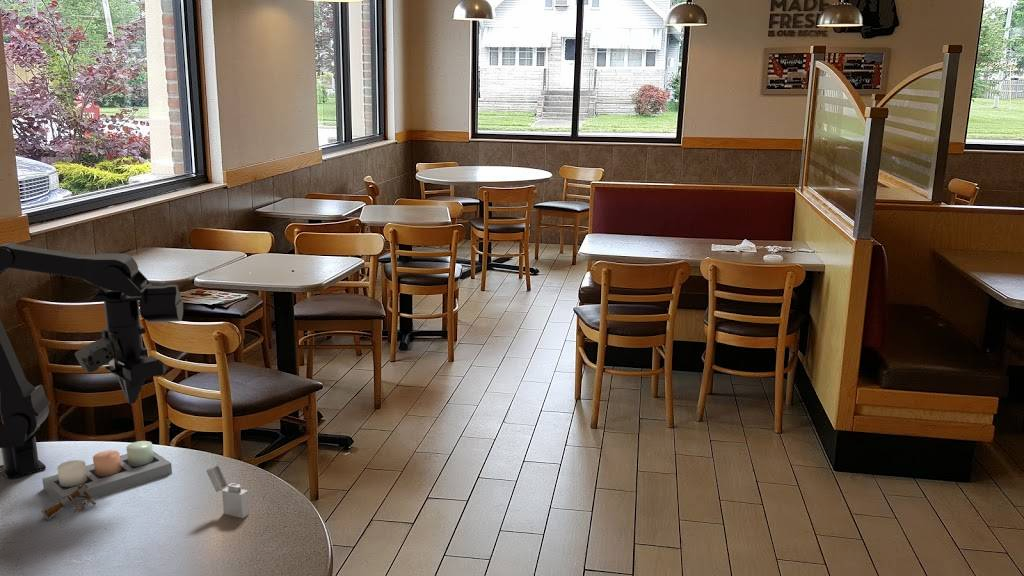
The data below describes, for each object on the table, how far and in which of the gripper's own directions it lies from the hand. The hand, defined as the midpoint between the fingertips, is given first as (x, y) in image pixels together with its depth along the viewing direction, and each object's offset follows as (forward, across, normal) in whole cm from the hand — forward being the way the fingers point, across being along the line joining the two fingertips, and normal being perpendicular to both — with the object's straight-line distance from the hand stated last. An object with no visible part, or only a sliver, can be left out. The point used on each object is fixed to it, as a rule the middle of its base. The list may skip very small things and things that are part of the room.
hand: (131, 403), depth 164 cm
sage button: (+10, +4, -1) cm, 11 cm away
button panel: (+12, +4, -7) cm, 15 cm away
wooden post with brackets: (+12, +11, -17) cm, 24 cm away
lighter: (+12, +31, +2) cm, 33 cm away
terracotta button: (+10, +4, -7) cm, 13 cm away
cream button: (+10, +4, -13) cm, 17 cm away
